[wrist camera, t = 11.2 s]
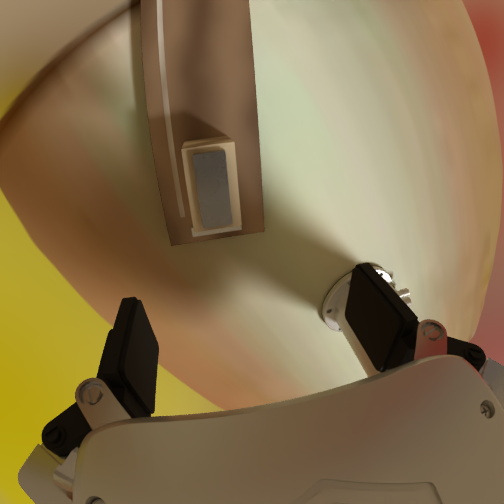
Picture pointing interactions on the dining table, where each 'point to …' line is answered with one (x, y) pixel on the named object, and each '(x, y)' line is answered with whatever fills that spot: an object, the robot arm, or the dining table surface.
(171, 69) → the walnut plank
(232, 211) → the beige rectangular block
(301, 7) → the dining table surface
